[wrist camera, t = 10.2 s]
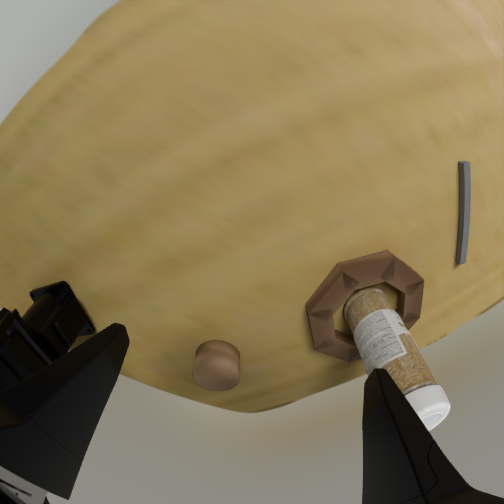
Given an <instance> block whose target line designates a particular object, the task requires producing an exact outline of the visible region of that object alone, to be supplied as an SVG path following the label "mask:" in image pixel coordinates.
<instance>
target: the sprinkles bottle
mask: <svg viewBox="0 0 504 504" xmlns="http://www.w3.org/2000/svg"><path fill="white" fill-rule="evenodd" d="M344 318H345V320H346V321H347V322H348V323H349V326H350V328H351V330H352V333H353V335H354V340H355V343H356V345H357V348H358V351H359V353H360V356H361V358H362V361H363V364H364V366H365V369H366V372H367V374H368V377H369V375H370V374H371V372H372V371H373V369H375V368H384V369H386V370H387V372H388V373H389V374H390V376H391V377H392V379H393V380H394V381H395V383H396V384H397V386H398V387H399V389H400V390H401V391H402V393H403V394H404V396H405V397H406V399H407V400H408V401H409V403H410V404H411V406H412V407H413V409H414V410H415V412H416V413H417V415H418V416H419V418H420V419H421V421H422V422H423V423H424V425H425V426H426V428H427V429H428V431H430V430H431V429H433V428H434V427H436V426H437V425H438V424H439V423H440V422H442V421H443V420H444V418H445V417H446V416H447V415H448V413H449V411H450V403H449V401H448V399H447V396H446V394H445V392H444V391H443V389H442V387H441V386H439V385H438V384H437V382H435V380H434V377H433V376H432V374H431V372H430V370H429V368H428V366H427V365H426V363H425V361H424V359H423V357H422V356H421V354H420V351H419V349H418V347H417V345H416V343H415V341H414V340H413V338H412V336H411V335H410V333H409V331H408V330H407V328H406V326H405V325H404V323H403V321H402V320H401V318H400V316H399V315H398V314H397V313H396V312H395V310H394V309H393V307H392V305H391V304H390V302H389V300H388V297H387V295H386V294H385V292H383V291H382V290H381V289H379V288H374V287H370V288H365V289H362V290H360V291H358V292H357V293H355V294H354V295H352V296H351V297H350V298H349V300H348V301H347V302H346V304H345V307H344Z"/></svg>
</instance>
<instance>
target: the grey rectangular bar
mask: <svg viewBox="0 0 504 504" xmlns="http://www.w3.org/2000/svg"><path fill="white" fill-rule="evenodd" d="M459 190H460V201H459V230H458V244H457V254H456V262H458V263H459V264H460V265H461V264H463V263H466V255H467V246H468V236H469V222H470V195H471V182H470V163H469V162H466V161H460V162H459Z"/></svg>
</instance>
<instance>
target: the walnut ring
mask: <svg viewBox="0 0 504 504" xmlns="http://www.w3.org/2000/svg"><path fill="white" fill-rule="evenodd" d="M385 281H386V282H388V283H389V284H391V285H393V286H394V287H396V288H397V289H398V307H397V309H396V311H395V312H396V313H397V314H398V315H399V316H400V318H401V320H402V321H403V323H404V325H405V326H406V328H407V330H409V329H410V328H411V327H412V326H413V325H414V324H415V323H416V321H417V320H418V319H419V318H420V313H421V305H422V296H423V287H424V279H423V278H422V277H421V276H420V275H419V274H418V273H417V272H416V271H415V270H413V269H412V268H411V267H409V266H408V265H407V264H405V263H404V262H403V261H401V260H400V259H399V258H397V257H396V256H394V255H393V254H392V253H390V252H389V251H388V250H385V251H381V252H378V253H374V254H370V255H367V256H363V257H359V258H355V259H352V260H348V261H344V262H340V263H337V265H336V266H335V267H334V268H333V270H332V271H331V272H330V274H329V275H328V276H327V277H326V279H325V280H324V281H323V283H322V284H321V285H320V286H319V288H318V289H317V290H316V291H315V293H314V294H313V295H312V296H311V298H310V299H309V300H308V301H307V303H306V307H307V312H308V317H309V322H310V328H311V333H312V339H313V343H314V347H315V350H317V351H320V352H323V353H325V354H328V355H331V356H334V357H337V358H339V359H342V360H345V361H348V362H351V361H354V360H358V359H361V356H360V353H359V351H358V348H357V345H356V343H355V340H354V337H352V336H349V335H347V334H345V333H342V332H340V331H338V330H335V329H334V321H333V315H334V314H335V312H336V311H337V310H338V309H339V308H340V307H341V305H342V304H343V303H344V302H345V301H346V300H347V298H348V297H349V296H350V295H351V294H352V292H353V291H354V290H357V289H361V288H364V287H368V286H371V285H375V284H378V283H381V282H385Z"/></svg>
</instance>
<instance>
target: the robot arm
mask: <svg viewBox="0 0 504 504" xmlns="http://www.w3.org/2000/svg"><path fill="white" fill-rule="evenodd" d="M30 297H31V298H32V300H33V302H34V303H33V305H32V306H31V307H30V308H29V309H28V310H27V312H26V313H25V314H24V315H23V316H22V318H21V316H20V315H19V312H18V311H17V310H16V309H14V310H13V311H10V310H7V309H6V308H3V309H2V310H1V311H0V504H49V502H48V500H47V497H46V494H47V492H48V491H49V492H50V493H53V494H55V495H58V496H60V497H62V498H65V499H67V500H69V498H70V495H71V492H72V489H73V487H74V484H75V481H76V478H77V475H78V472H79V470H80V467H81V465H82V461H83V459H84V456H85V454H86V451H87V448H88V446H89V444H90V441H91V439H92V436H93V434H94V431H95V429H96V426H97V424H98V422H99V419H100V417H101V415H102V412H103V410H104V408H105V405H106V403H107V401H108V398H109V396H110V394H111V392H112V390H113V387H114V385H115V383H116V381H117V378H118V376H119V373H120V370H121V367H122V364H123V361H124V358H125V355H126V352H127V349H128V347H129V337H128V333H127V330H126V327H125V326H124V325H122V324H119V323H113V324H111V325H110V326H108V327H107V328H105V329H104V330H102V331H100V332H99V333H97V334H96V335H94V336H92V337H91V338H89V339H88V340H86V341H85V342H83V343H82V344H80V345H78V346H77V347H75V348H74V349H72V350H71V351H69V349H70V347H71V346H72V345H73V344H74V342H75V340H76V339H77V337H78V336H83V335H91V334H93V333H94V331H95V328H94V327H93V325H92V324H91V322H90V321H89V319H88V318H87V316H86V314H85V313H84V311H83V310H82V308H81V306H80V305H79V303H78V301H77V300H76V298H75V296H74V294H73V293H72V291H71V289H70V287H69V286H68V284H67V283H66V282H65V281H60V282H57V283H54V284H50V285H47V286H44V287H41V288H37V289H34V290H32V291H31V292H30ZM68 351H69V352H68ZM362 426H363V427H362V430H363V493H362V504H504V498H501V497H497V496H494V495H491V494H488V493H484V492H481V491H479V490H476V489H474V488H473V487H471V486H470V485H469V484H468V483H467V482H466V481H465V480H464V479H463V477H462V476H461V475H460V474H459V472H458V471H457V470H456V469H455V468H454V466H453V465H452V464H451V463H450V462H449V460H448V459H447V457H446V456H445V455H444V453H443V452H442V450H441V449H440V447H439V446H438V445H437V443H436V442H435V440H434V439H433V437H432V436H431V434H430V433H429V431H428V429H427V428H426V426H425V425H424V423H423V422H422V421H421V419H420V418H419V416H418V415H417V413H416V412H415V410H414V409H413V407H412V406H411V404H410V403H409V401H408V400H407V399H406V397H405V396H404V394H403V393H402V391H401V390H400V389H399V387H398V386H397V384H396V383H395V381H394V380H393V379H392V377H391V376H390V374H389V373H388V372H387V370H386V369H384V368H375V369H373V371H372V372H371V374H370V375H369V377H368V378H367V380H366V382H365V385H364V404H363V419H362Z"/></svg>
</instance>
